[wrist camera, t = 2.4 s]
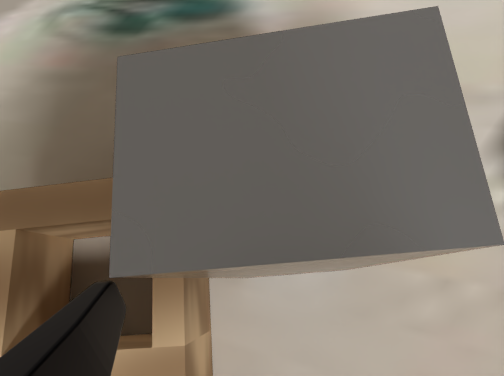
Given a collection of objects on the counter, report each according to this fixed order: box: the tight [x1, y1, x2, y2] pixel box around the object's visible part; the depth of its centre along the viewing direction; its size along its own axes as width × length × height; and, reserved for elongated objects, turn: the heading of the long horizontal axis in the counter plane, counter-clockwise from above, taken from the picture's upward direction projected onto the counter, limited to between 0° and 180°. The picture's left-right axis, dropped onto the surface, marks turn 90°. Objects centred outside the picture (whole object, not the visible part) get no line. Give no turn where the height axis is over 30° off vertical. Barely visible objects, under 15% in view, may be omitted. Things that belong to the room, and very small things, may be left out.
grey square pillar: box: [109, 6, 504, 278], centre depth 11 cm, size 4×5×13 cm
